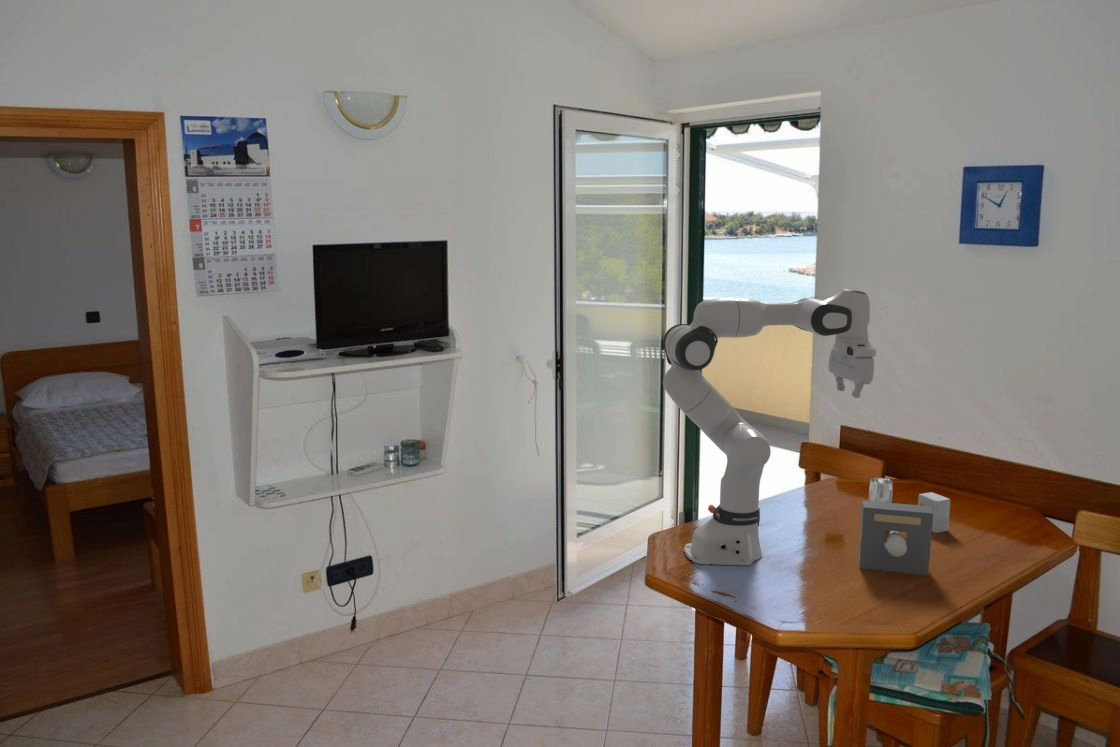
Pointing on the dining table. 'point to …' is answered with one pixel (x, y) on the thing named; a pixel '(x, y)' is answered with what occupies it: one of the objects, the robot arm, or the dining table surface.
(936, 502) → the small box
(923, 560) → the control block
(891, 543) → the knob
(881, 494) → the beer glass
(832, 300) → the robot arm
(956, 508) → the dining table surface
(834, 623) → the dining table surface
